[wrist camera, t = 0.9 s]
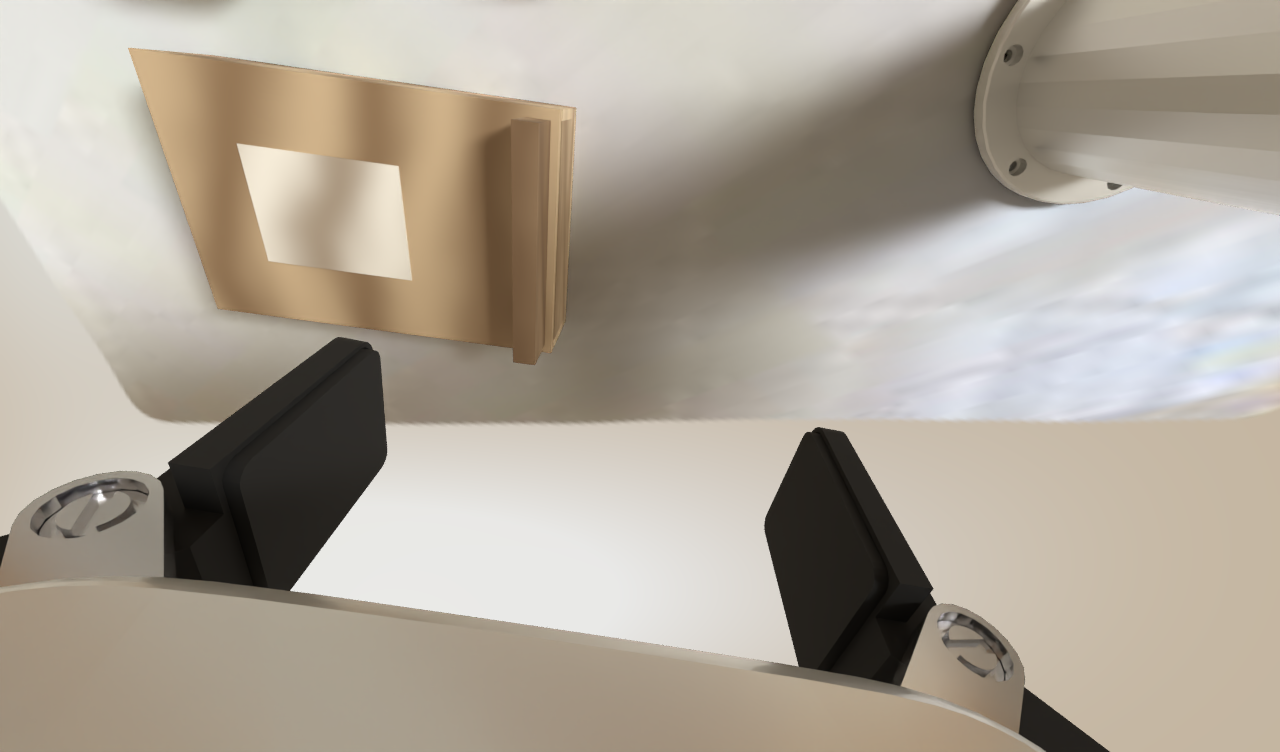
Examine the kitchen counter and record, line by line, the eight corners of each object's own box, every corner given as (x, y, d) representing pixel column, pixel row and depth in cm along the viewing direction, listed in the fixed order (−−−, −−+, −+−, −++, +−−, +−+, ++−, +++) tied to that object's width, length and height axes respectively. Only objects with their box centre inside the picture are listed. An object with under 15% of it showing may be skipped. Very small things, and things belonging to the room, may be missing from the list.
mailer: (576, 107, 27) (562, 109, 23) (565, 321, 33) (553, 347, 30) (212, 55, 26) (144, 49, 23) (274, 281, 33) (228, 303, 29)
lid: (561, 109, 23) (548, 111, 20) (552, 349, 30) (541, 373, 27) (138, 48, 23) (69, 42, 20) (224, 305, 29) (181, 326, 27)
